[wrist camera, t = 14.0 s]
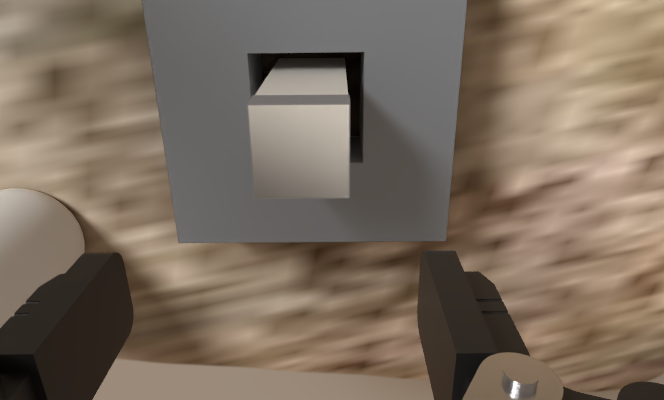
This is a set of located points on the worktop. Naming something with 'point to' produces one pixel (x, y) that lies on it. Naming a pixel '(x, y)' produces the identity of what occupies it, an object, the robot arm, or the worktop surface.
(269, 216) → the socket block
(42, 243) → the milk bottle
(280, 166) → the plug
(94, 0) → the worktop surface
